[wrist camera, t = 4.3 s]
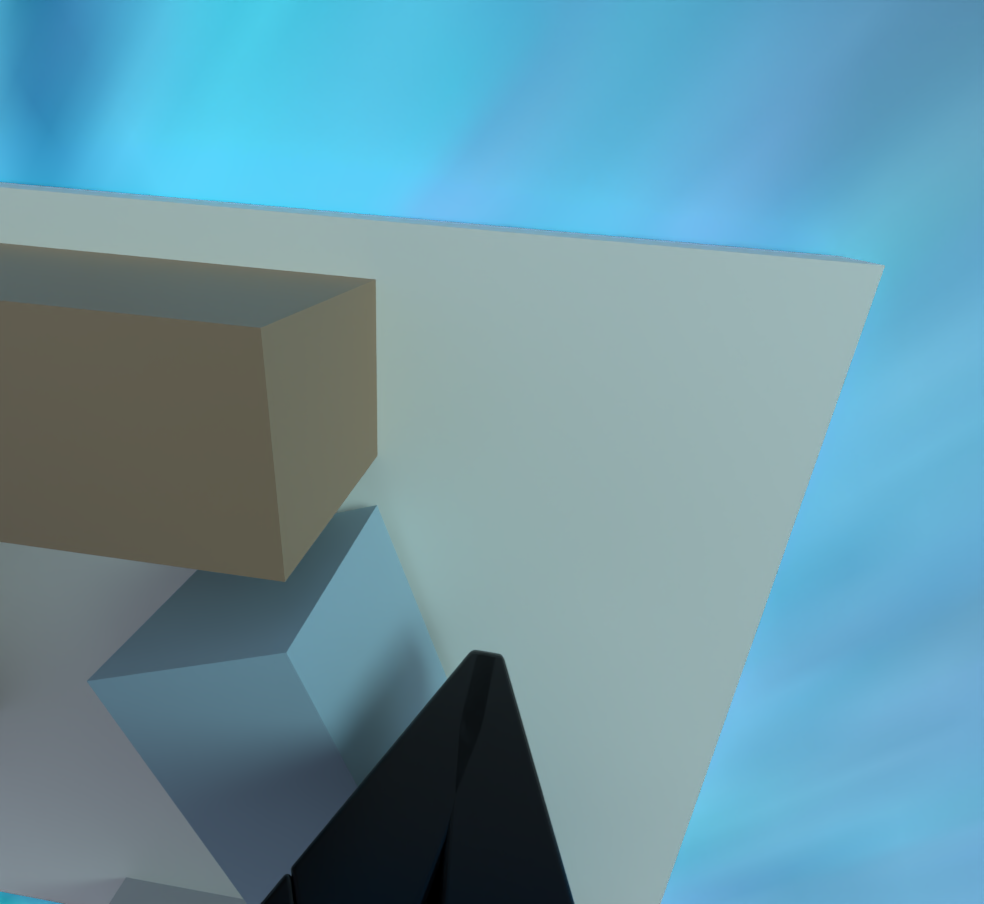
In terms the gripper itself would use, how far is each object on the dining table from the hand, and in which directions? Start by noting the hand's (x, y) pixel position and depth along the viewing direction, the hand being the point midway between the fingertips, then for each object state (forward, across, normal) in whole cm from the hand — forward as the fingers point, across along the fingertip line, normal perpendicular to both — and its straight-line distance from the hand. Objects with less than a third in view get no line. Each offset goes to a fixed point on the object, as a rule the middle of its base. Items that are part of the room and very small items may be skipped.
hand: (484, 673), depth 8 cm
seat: (+3, +4, +3) cm, 6 cm away
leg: (+1, +1, +4) cm, 5 cm away
